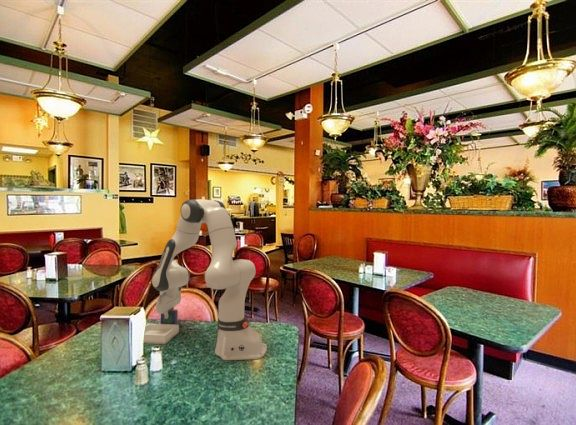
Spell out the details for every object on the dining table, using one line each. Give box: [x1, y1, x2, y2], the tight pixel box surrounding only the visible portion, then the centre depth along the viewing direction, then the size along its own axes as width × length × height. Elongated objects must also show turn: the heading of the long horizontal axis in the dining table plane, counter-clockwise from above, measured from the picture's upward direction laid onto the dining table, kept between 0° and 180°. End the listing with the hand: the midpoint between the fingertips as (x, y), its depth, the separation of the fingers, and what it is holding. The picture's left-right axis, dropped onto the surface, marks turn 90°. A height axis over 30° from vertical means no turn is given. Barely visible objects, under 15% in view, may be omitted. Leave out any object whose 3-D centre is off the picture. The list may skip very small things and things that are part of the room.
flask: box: [159, 309, 179, 325], centre depth 166 cm, size 9×3×11 cm, turn 84°
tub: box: [143, 323, 180, 345], centre depth 152 cm, size 16×14×4 cm
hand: (168, 317), depth 166 cm, fingers closed on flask, 3 cm apart
